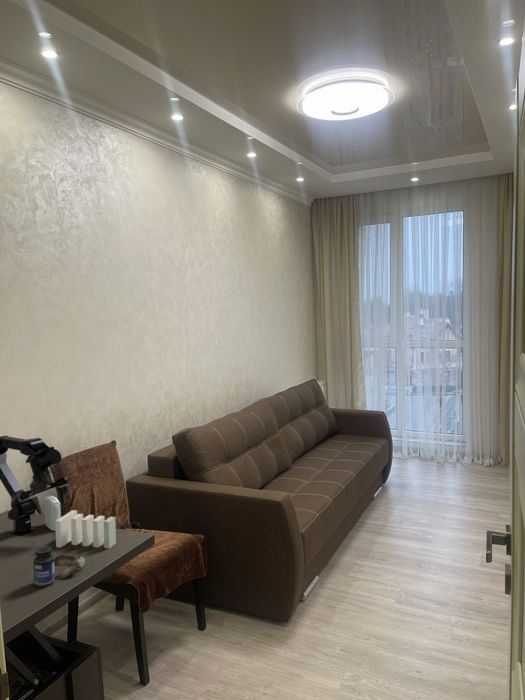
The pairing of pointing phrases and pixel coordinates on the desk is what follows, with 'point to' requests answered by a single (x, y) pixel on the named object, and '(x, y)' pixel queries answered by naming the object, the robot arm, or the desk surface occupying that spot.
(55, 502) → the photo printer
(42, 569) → the pill bottle
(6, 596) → the desk surface
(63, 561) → the eagle figurine
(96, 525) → the domino
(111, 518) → the domino
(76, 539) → the domino
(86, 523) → the domino
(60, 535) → the domino
